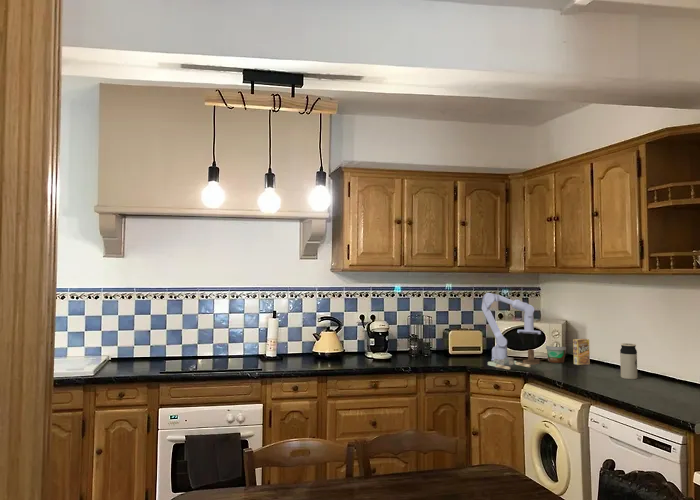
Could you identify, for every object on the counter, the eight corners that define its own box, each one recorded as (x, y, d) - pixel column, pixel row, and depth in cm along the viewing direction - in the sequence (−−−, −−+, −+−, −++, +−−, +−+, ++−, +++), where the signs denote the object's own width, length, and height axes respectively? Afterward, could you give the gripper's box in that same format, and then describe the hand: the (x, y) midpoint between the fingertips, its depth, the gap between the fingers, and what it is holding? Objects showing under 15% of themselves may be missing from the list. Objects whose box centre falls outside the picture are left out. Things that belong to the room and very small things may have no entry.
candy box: (578, 365, 340) (577, 339, 340) (573, 364, 344) (572, 339, 344) (590, 364, 342) (589, 339, 343) (585, 363, 346) (584, 338, 347)
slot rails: (495, 366, 336) (495, 364, 336) (517, 364, 344) (516, 361, 344) (509, 369, 326) (509, 367, 326) (530, 367, 334) (530, 364, 334)
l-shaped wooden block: (522, 365, 342) (522, 350, 342) (536, 363, 348) (536, 348, 348) (525, 365, 340) (525, 350, 340) (539, 364, 345) (539, 349, 346)
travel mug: (617, 377, 300) (617, 344, 301) (625, 376, 305) (624, 342, 306) (632, 380, 294) (632, 345, 294) (640, 378, 299) (639, 344, 299)
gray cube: (504, 364, 345) (504, 357, 345) (508, 363, 347) (508, 357, 347) (508, 365, 342) (508, 358, 342) (513, 364, 343) (513, 358, 344)
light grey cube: (494, 365, 341) (494, 358, 342) (499, 364, 343) (499, 358, 343) (498, 366, 338) (498, 359, 338) (503, 365, 340) (503, 359, 340)
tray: (487, 365, 342) (487, 361, 342) (508, 362, 350) (508, 359, 350) (495, 366, 336) (495, 363, 336) (517, 364, 344) (516, 361, 344)
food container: (544, 362, 351) (544, 346, 351) (546, 360, 356) (545, 345, 357) (565, 363, 345) (565, 347, 346) (566, 362, 351) (566, 346, 351)
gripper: (515, 323, 356) (515, 344, 356) (538, 324, 347) (538, 346, 347) (519, 322, 362) (519, 343, 361) (542, 323, 353) (542, 345, 352)
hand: (529, 345), depth 354 cm, fingers open, 7 cm apart
